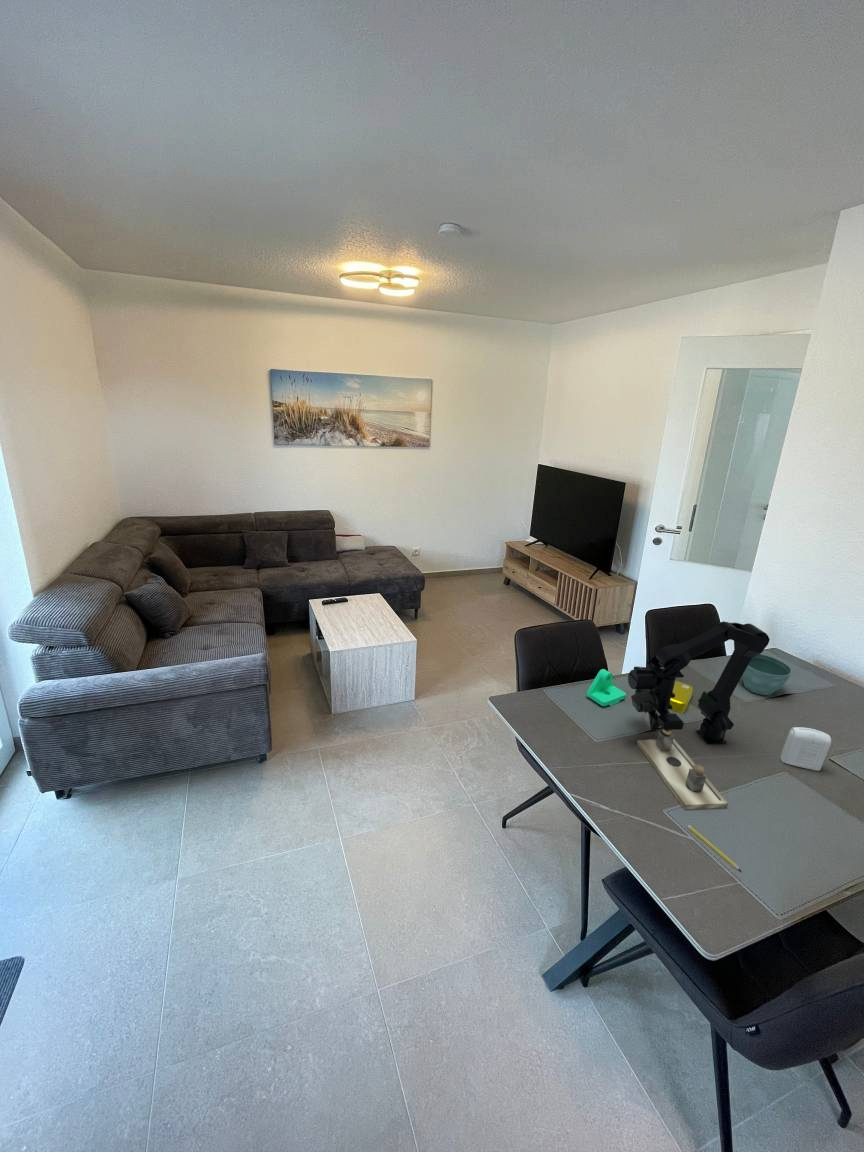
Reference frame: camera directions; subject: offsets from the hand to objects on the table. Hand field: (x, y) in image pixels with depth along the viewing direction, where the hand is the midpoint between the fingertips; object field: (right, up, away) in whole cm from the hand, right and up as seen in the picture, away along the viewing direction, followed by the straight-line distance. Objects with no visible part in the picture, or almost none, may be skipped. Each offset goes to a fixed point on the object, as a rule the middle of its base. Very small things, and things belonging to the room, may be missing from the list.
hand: (652, 730), depth 157 cm
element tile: (+15, +4, +24) cm, 29 cm away
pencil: (-2, -17, -37) cm, 41 cm away
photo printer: (+41, -8, -7) cm, 42 cm away
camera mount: (-8, +4, +21) cm, 23 cm away
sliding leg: (+1, -3, -6) cm, 7 cm away
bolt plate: (+1, -8, -13) cm, 16 cm away
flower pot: (+54, +6, +32) cm, 63 cm away
